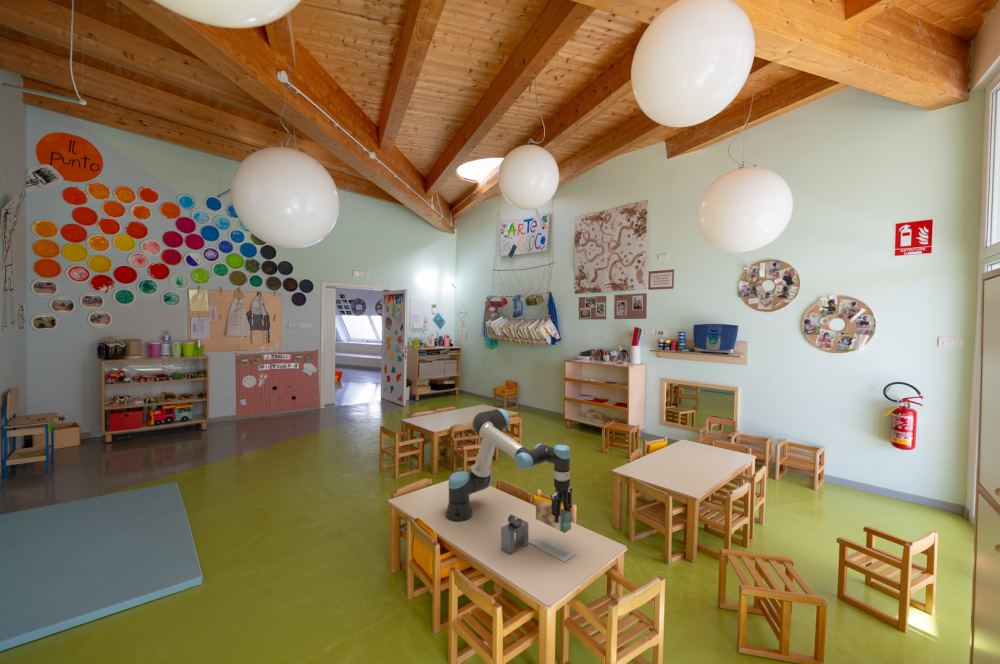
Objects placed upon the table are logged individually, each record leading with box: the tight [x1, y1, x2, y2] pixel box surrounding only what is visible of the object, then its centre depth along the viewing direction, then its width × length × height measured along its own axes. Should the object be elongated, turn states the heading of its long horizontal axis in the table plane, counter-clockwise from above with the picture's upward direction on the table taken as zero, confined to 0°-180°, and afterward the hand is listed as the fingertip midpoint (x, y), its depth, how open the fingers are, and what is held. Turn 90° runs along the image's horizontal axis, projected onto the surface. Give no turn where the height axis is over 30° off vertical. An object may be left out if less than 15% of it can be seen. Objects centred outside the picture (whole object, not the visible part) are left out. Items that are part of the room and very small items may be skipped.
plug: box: [535, 499, 572, 533], centre depth 202 cm, size 18×5×8 cm, turn 43°
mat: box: [529, 535, 578, 563], centre depth 202 cm, size 22×9×1 cm, turn 43°
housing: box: [500, 514, 529, 555], centre depth 204 cm, size 6×13×15 cm, turn 133°
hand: (561, 526), depth 198 cm, fingers closed on plug, 5 cm apart
